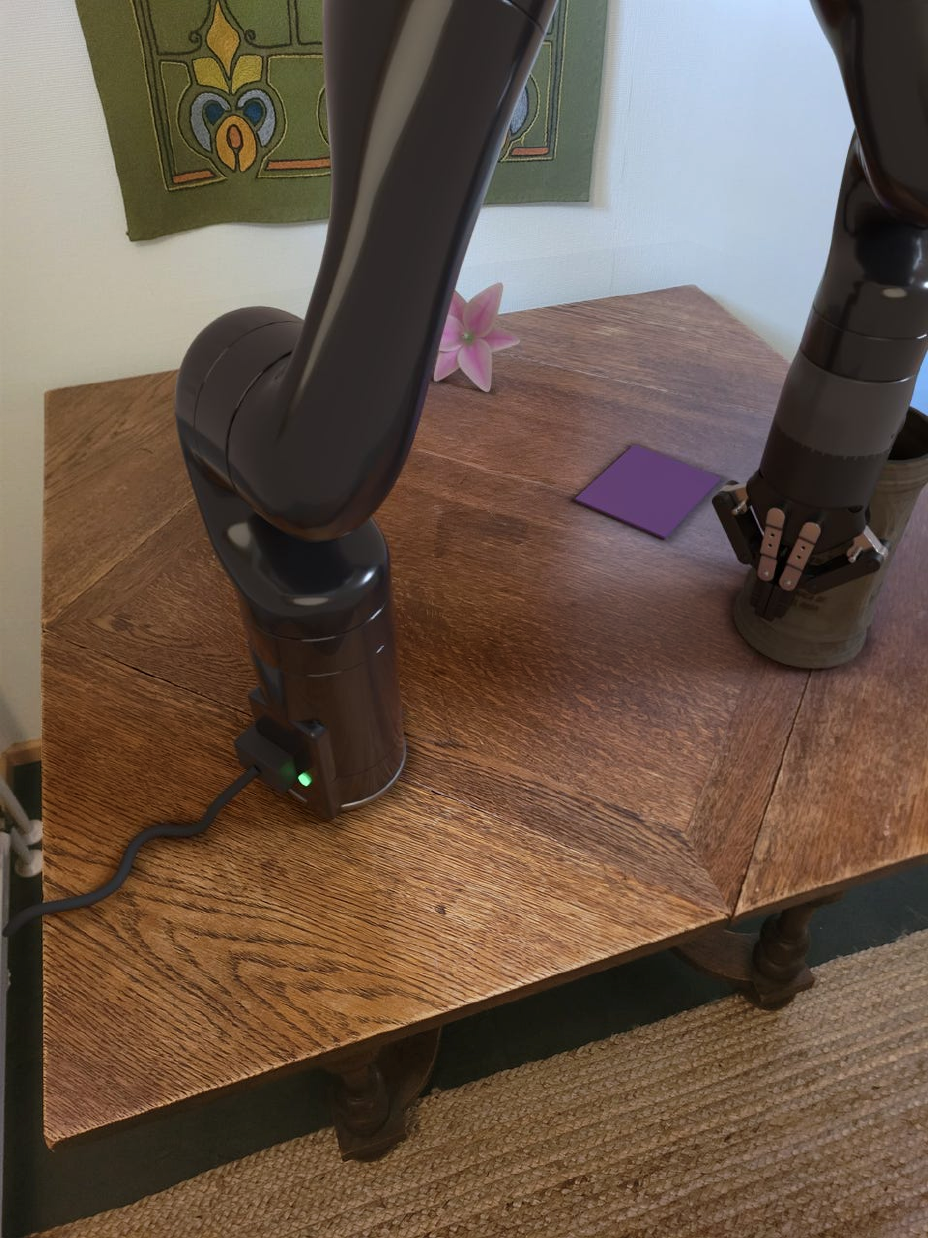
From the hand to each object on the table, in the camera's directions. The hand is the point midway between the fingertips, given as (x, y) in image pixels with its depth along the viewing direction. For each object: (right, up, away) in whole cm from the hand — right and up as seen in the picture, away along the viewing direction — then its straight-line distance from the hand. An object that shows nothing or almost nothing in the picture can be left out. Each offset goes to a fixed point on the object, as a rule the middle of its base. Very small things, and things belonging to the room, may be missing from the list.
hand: (767, 612), depth 68 cm
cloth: (-5, +12, +20) cm, 24 cm away
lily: (-23, +29, +37) cm, 53 cm away
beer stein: (+5, 0, +8) cm, 10 cm away
